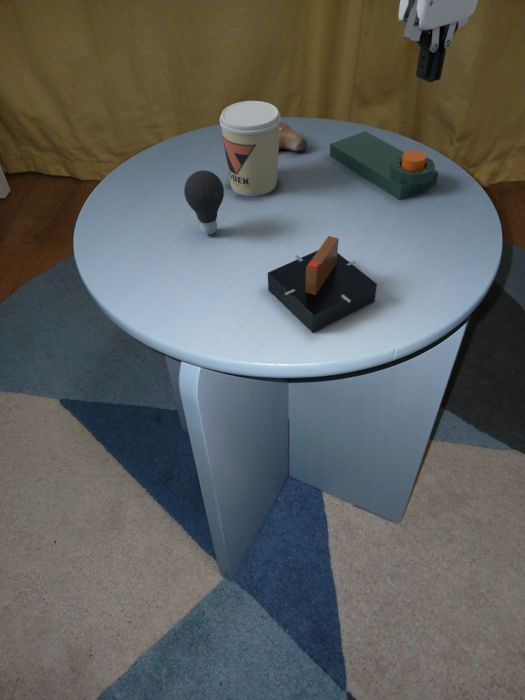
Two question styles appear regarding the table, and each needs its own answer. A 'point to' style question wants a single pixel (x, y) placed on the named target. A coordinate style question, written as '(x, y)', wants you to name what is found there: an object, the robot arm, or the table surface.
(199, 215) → the light bulb
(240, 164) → the coffee cup
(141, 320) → the table surface
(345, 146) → the button box
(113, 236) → the table surface
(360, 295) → the clamp block
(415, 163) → the button
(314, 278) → the wooden rectangular beam
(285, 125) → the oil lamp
